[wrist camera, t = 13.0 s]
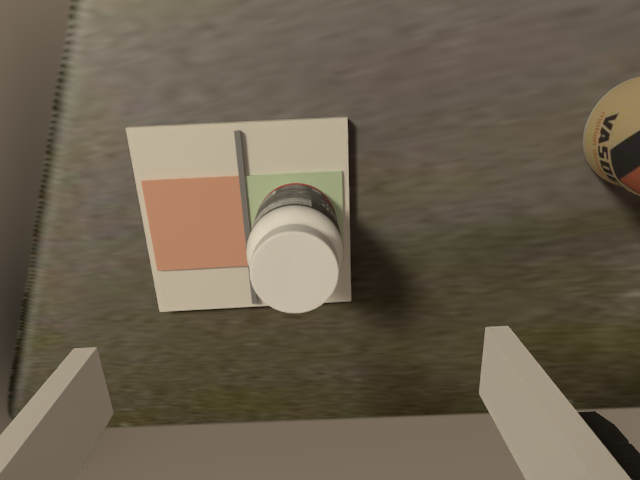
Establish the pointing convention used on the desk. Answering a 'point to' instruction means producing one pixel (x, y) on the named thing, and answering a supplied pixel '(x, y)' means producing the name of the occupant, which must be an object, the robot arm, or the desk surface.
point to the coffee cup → (616, 136)
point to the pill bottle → (295, 249)
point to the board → (228, 199)
